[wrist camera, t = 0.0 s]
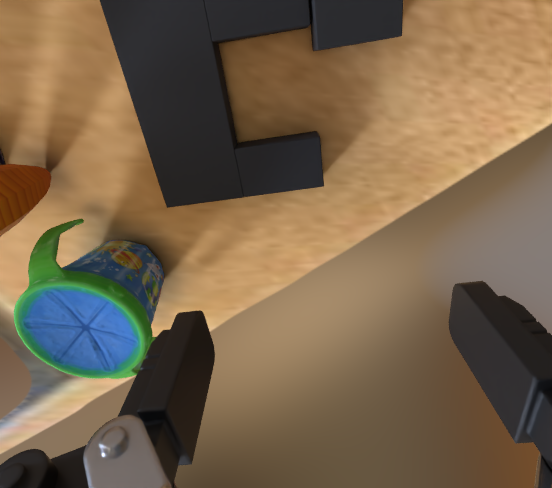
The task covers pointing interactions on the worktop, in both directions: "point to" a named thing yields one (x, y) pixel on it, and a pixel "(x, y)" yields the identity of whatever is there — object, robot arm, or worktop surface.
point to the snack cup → (90, 307)
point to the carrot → (20, 192)
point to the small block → (353, 21)
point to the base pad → (205, 97)
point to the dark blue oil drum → (1, 159)
